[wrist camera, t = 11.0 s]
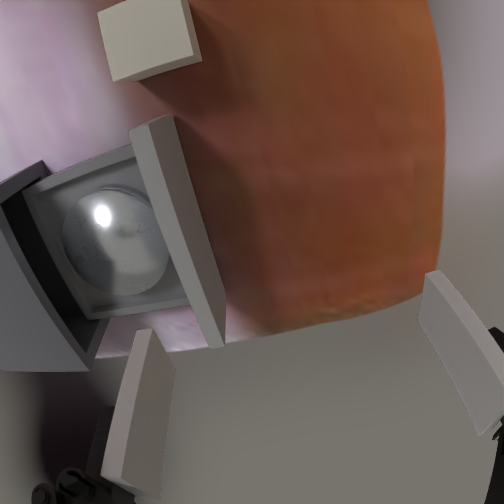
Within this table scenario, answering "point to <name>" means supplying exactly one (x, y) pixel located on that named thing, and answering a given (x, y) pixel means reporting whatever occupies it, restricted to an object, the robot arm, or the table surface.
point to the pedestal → (148, 38)
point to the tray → (168, 216)
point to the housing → (37, 294)
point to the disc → (115, 240)
